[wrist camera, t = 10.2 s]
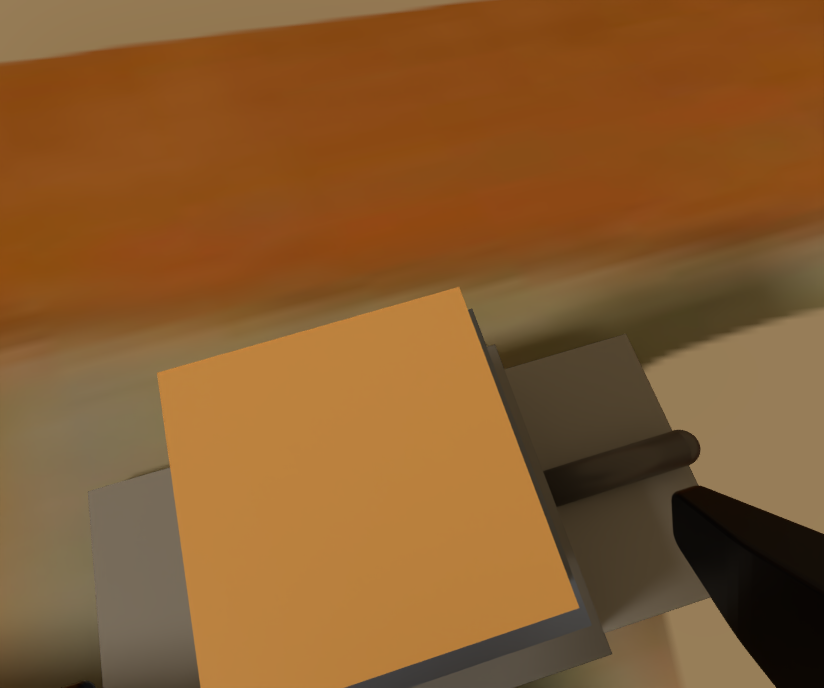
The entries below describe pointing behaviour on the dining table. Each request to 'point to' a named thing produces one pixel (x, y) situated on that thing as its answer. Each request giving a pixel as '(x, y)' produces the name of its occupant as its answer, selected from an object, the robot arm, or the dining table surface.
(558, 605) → the orange-capped square pillar
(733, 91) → the dining table surface
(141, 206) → the dining table surface
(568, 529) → the end holder
